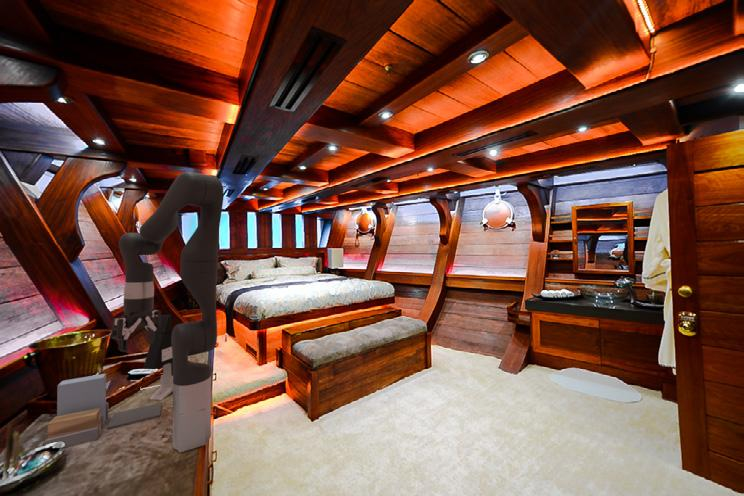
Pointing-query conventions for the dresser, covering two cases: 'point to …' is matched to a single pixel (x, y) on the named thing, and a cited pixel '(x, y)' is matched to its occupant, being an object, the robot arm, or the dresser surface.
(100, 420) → the offcut lower
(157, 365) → the award
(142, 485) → the dresser surface
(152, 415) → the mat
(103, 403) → the sheet
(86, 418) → the offcut upper
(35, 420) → the dresser surface
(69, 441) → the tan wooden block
